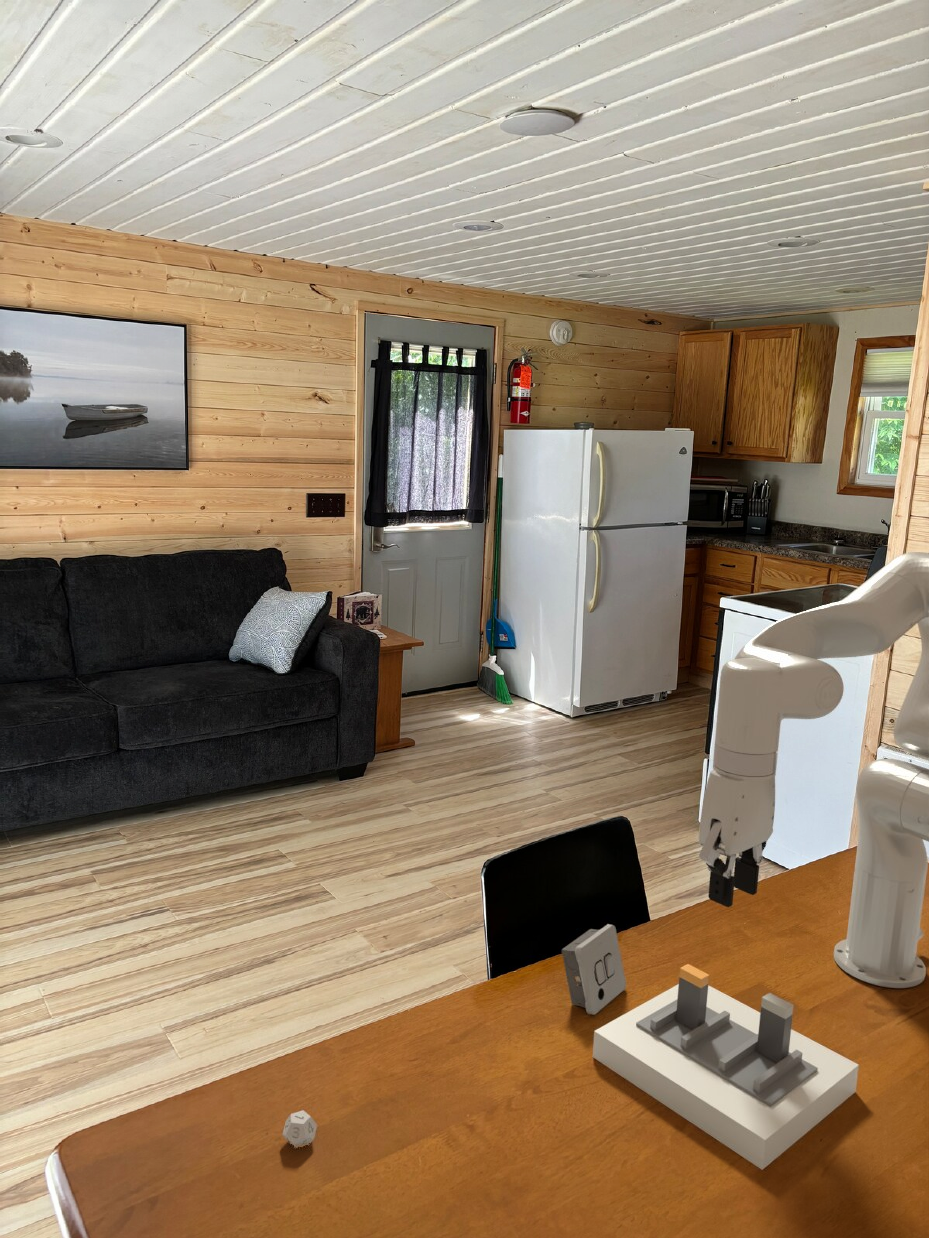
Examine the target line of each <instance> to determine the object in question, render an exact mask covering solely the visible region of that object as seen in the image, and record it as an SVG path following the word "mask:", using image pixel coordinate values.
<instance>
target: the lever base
mask: <svg viewBox="0 0 929 1238" xmlns="http://www.w3.org/2000/svg"><path fill="white" fill-rule="evenodd" d="M678 987H679V983H678V984H676V985H674V986H672V987H670V988H669V989H666V990H665V991H663V992H661V993H660V994H658V995H656V996H654V997H652V998H651V999H649V1000H647V1001H646V1002H644V1003H642V1004H640V1005H638V1006H637V1007H634V1008H633V1009H631V1010H629V1011H627V1012H626V1013H623V1014H622V1015H620V1016H618V1017H617V1018H614V1019H613V1020H611V1021H609V1022H608V1023H605V1024H604V1025H602V1026H601V1027H599V1028H597V1029H595V1030H593V1032H594V1033H593V1045H592V1058H594V1059H595V1060H597V1061H598V1062H600V1063H601V1064H602V1065H604V1066H605V1067H607V1068H608V1069H610V1070H611V1071H612V1072H615V1073H616V1074H617V1075H619V1076H621V1077H622V1078H624V1080H626V1081H628V1082H630V1083H631V1084H633V1085H634V1086H636V1087H637V1088H638V1089H640V1090H642V1091H643V1092H644V1093H646V1094H648V1095H649V1096H650V1097H652V1099H653V1098H654V1099H655V1100H657V1102H660V1103H661V1104H662V1105H663V1106H666V1107H667V1108H669V1109H670V1110H671V1111H672V1112H675V1113H676V1114H678V1115H679V1116H681V1117H682V1118H684V1120H686V1121H688V1122H690V1124H692V1125H694V1126H695V1127H697V1128H699V1129H700V1130H702V1131H703V1132H705V1133H706V1134H707V1135H709V1136H710V1137H713V1139H716V1140H717V1141H718V1142H720V1143H721V1144H722V1145H724V1146H725V1147H727V1148H729V1149H730V1150H732V1151H733V1152H735V1153H736V1154H738V1155H739V1156H741V1157H743V1158H744V1159H745V1160H746V1161H748V1162H750V1163H751V1164H752V1165H754V1166H756V1167H757V1168H758V1169H760V1170H764V1169H765V1168H766V1167H768V1166H769V1165H770V1164H771V1163H772V1162H773V1161H775V1160H776V1159H777V1158H779V1157H780V1156H781V1155H782V1154H783V1153H784V1152H786V1151H787V1150H788V1149H789V1148H791V1146H793V1145H794V1144H796V1142H798V1141H799V1140H800V1139H802V1138H803V1136H804V1135H806V1134H807V1133H808V1132H810V1131H811V1130H812V1129H813V1128H814V1127H815V1126H817V1125H818V1124H819V1123H820V1122H821V1121H822V1120H824V1119H825V1118H826V1117H828V1116H829V1115H830V1114H831V1113H833V1111H835V1110H836V1109H837V1108H838V1107H840V1106H841V1105H842V1104H843V1103H845V1102H846V1100H848V1098H850V1097H851V1096H852V1095H854V1094H855V1093H856V1090H857V1082H858V1074H859V1066H860V1064H858V1063H856V1062H854V1061H852V1060H850V1059H848V1058H847V1057H845V1056H843V1055H842V1054H839V1053H837V1052H836V1051H833V1050H831V1049H829V1048H828V1047H826V1046H824V1045H822V1044H820V1043H818V1042H817V1041H815V1040H812V1039H811V1038H809V1037H807V1036H805V1035H803V1034H801V1033H799V1032H797V1030H796V1031H795V1030H794V1029H792V1025H793V1016H794V1015H793V1013H794V1004H793V1003H791V1002H789V1001H787V1000H785V999H783V998H781V997H779V996H778V995H775V994H773V993H771V992H768V993H766V994H765V995H763V996H761V1002H760V1003H761V1004H760V1012H759V1011H758V1010H756V1009H754V1008H752V1007H750V1006H748V1005H746V1004H745V1003H742V1002H741V1001H739V1000H737V999H736V998H733V997H731V996H729V995H728V994H725V993H724V992H721V991H720V990H718V989H717V988H714V987H713V986H710V985H709V984H708V995H707V1006H706V1018H705V1023H704V1024H702V1025H700V1026H699V1027H697V1028H695V1029H694V1030H692V1029H690V1028H688V1027H687V1026H685V1025H683V1024H681V1023H680V1022H678V1021H676V1012H677V999H678Z"/></svg>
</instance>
